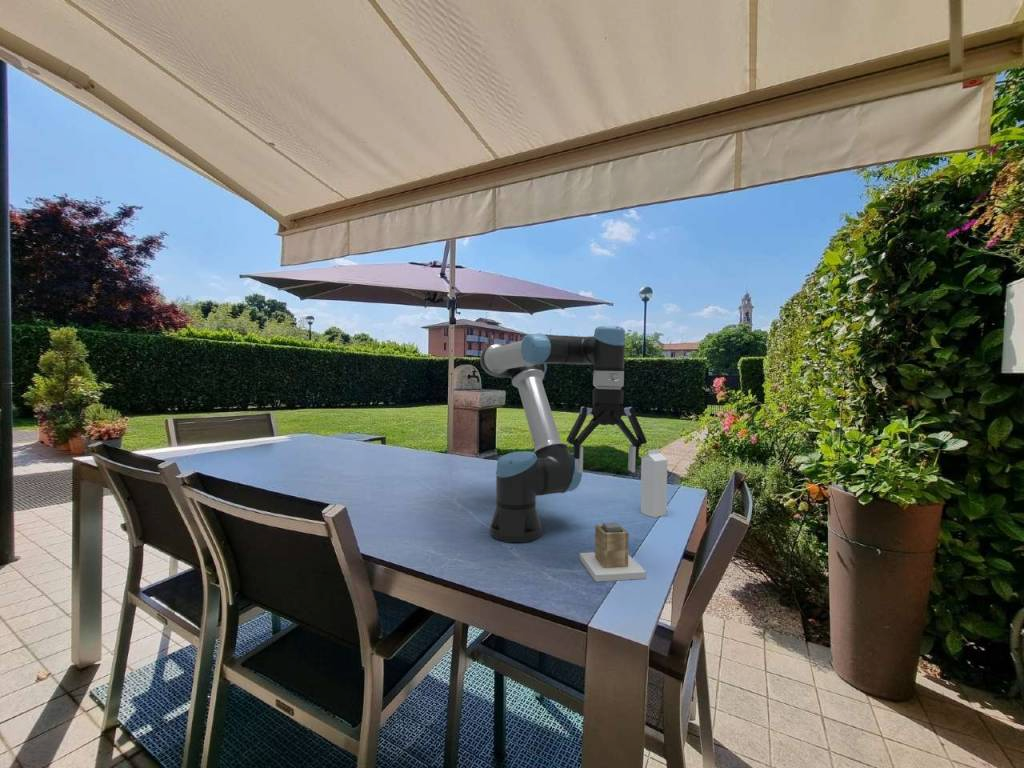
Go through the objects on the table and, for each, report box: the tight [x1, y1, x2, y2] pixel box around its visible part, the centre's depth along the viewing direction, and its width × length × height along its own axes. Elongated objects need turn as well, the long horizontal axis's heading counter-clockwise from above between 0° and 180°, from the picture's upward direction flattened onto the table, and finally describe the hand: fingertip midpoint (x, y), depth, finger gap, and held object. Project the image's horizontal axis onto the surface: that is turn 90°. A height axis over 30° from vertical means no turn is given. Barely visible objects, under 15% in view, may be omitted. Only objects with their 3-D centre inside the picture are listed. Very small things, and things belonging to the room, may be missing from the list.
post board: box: [579, 522, 647, 583], centre depth 101 cm, size 12×12×10 cm
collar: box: [594, 523, 630, 568], centre depth 101 cm, size 6×6×8 cm
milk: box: [640, 448, 668, 519], centre depth 142 cm, size 6×6×22 cm
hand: (605, 471), depth 106 cm, fingers open, 13 cm apart
